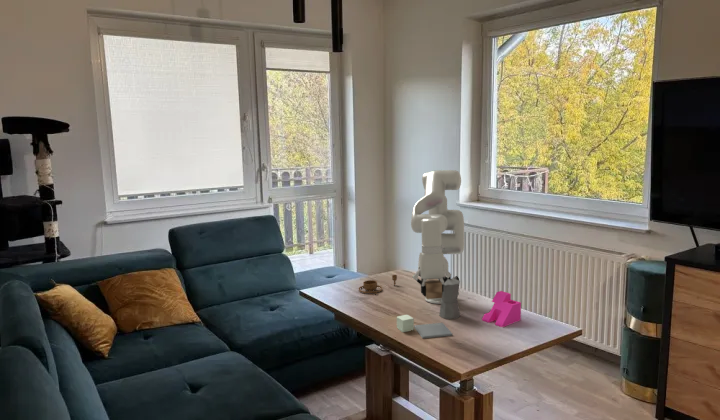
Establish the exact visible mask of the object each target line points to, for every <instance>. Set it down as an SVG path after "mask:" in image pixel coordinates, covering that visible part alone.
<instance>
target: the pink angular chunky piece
mask: <svg viewBox="0 0 720 420" xmlns="http://www.w3.org/2000/svg"><path fill="white" fill-rule="evenodd" d="M511 297H512V294H511V292H510V293H509V292H506V291H504V290H500V291H497V292H496V293H495V294H494V295H493V298H492V300H491V302H492V303H493V305H492V307H491V309H490V311H489V312H486V313H484V314H483V316H482V318H481V321H482V322H485V323H487V324H488V323H492V322H494V321H495V323H494V324H495V326H496V327H500V328H505V327H507V326H509V325H512V324H514V322H515V323H517V322H520V321H522V320H521V319H522V315H521V314H522V302H521V301H517V300H514V299H512V298H511Z"/></svg>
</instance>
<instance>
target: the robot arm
mask: <svg viewBox="0 0 720 420" xmlns="http://www.w3.org/2000/svg"><path fill="white" fill-rule="evenodd" d="M421 181H422V185H423V189H424V195H423V196H422V197H421V198H419V200H418V201H417V202H416V203H415V204H414V205H413V207H412V212H411V221H410V226H411V230H412V231H413V232H414V233H417V234H421V252H419V255H418V261H417V262H418V264H417V271H416V272H414V275H413V276H412V278H413V280H415V281H416V283H418V284H419V285H420V292H421V294H422V296H423V297H424V301H426V302H428V303H430V304H435V305H436V304H437V305H438V304H439V305H441V300H442V298H435V299H426V297H425V296H426V286H425V283H426V280H427V279H438V280H439V281H440V282H441V283H442V292H443V285H444V284H445V282H446V281H447V280H448V278H449V277H450V276H451V277H452V273H451V272H450V270H449V262H448V259H447V258H446V257H445V256H444V255H460V254H463V253H464V250H465V219H464V217H465V216H464V214H463V212H462V211H461V210H459V209H448V198H447V196H446V191H458V190H459V189H460V188H461V185H462V175H461V173H460V171H458V170H454V169H447V170H442V169H441V170H440V169H437V170H432V171H427V172H425V173H423V174H422V178H421ZM427 211H428V213H427V214H425V212H427ZM423 213H424V214H423ZM445 231H453V232H454V233H452V232H451V233H448V232H445ZM419 277H420V278H419ZM459 291H460V290H459ZM459 291H458V296H459V295H460V292H459Z"/></svg>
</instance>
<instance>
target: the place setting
mask: <svg viewBox="0 0 720 420" xmlns="http://www.w3.org/2000/svg"><path fill="white" fill-rule="evenodd" d="M391 280H392V281H393V286H394V285H396V281H397V280H398V275H397V274H391ZM362 287H364V288H363V289H364V290H365V291H364V290H362V289H361V290H360V288H362ZM377 287H380V288H381V289H378V288H377ZM376 289H378V290H376ZM367 290H368V291H367ZM373 290H374V291H373ZM380 291H381V292H382V291H383V287H382V285H378V281H377V280H373V279H370V280H369V279H368V280H365V281H363V285H361V286H360V287H358V292H359V293H361V292H363V293H362V294H365V293H374V294H378V293H377V292H379V293H381V292H380Z"/></svg>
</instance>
